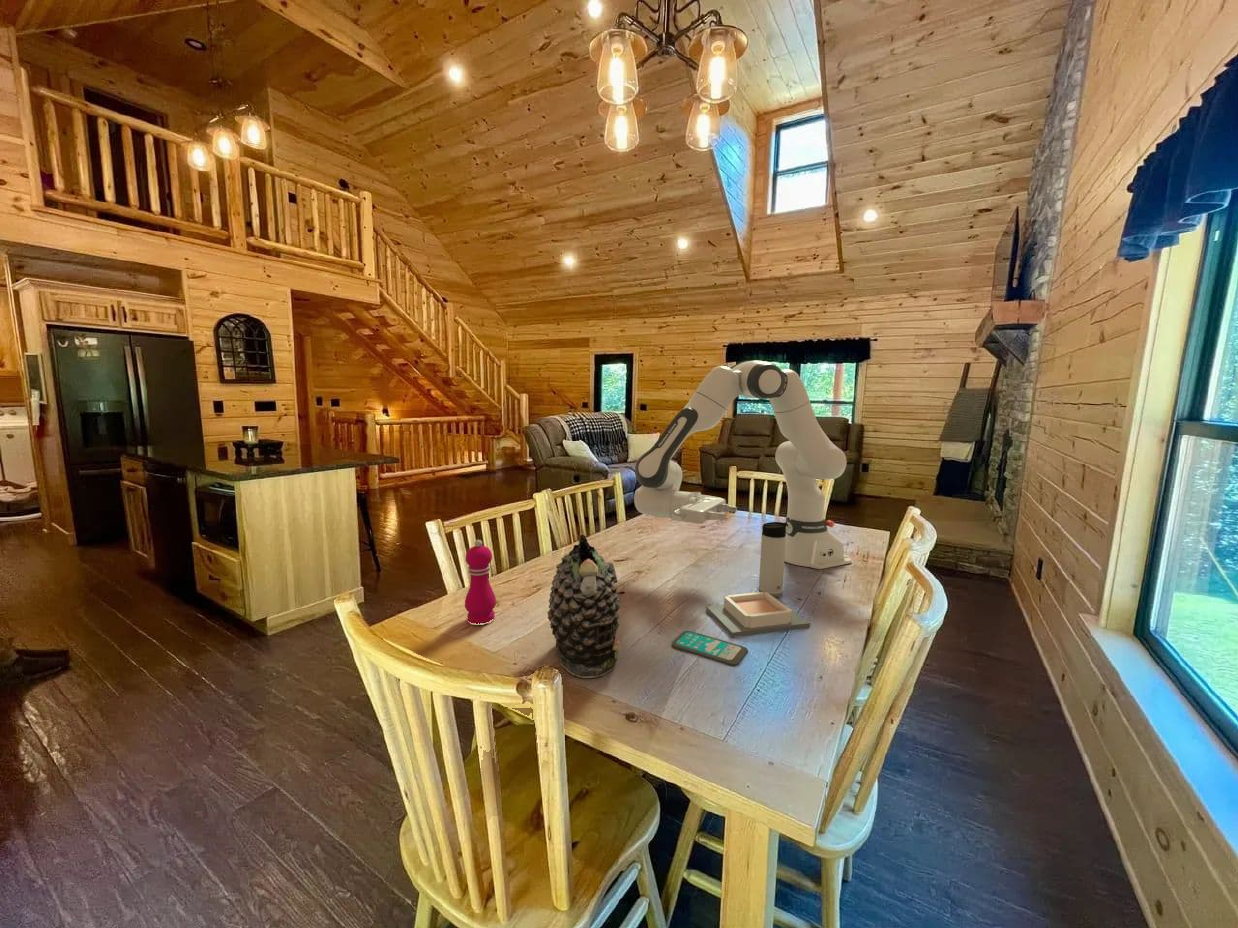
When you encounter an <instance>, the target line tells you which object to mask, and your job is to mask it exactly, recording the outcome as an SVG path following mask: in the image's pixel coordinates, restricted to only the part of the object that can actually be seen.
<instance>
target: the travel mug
mask: <svg viewBox="0 0 1238 928" xmlns="http://www.w3.org/2000/svg"><path fill="white" fill-rule="evenodd" d="M786 526H787V527H788V524H787V523H786V522H781V521H770V522H765V523H763V524H762V526H761V527H762V529H761V541H760V542H761V543H760V560H759V561H760V562H759V577H758V578H759V580H758V592H763V593H765V592H767V593H769V594H770V595H771V596H773V597H774V598H775V599H777V598H780V597H782V596H783V593H784V592H783V591H784V590H783V588H784V577H785V575H784V574H785V561H784V560H785V543H786Z"/></svg>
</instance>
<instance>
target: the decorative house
mask: <svg viewBox="0 0 1238 928" xmlns="http://www.w3.org/2000/svg"><path fill="white" fill-rule="evenodd" d="M555 567H556V571H555V574H554V576H553V579H552V581H551V585H552V586H551V587H550V593H549V599H548V602H549V605H548V608H549V609H548V611H547V619H548V621H549V622H550V625H549V626H550V628H551V631H552V633H551V634H552V635H553V636H554V639H555V649H556V653H557V656H558V660H559V663H560V665H561V666H562V667H563V669H565V670H566V671H567V672H568V673H570V674H571V675H573V676H576V677H578V678H583V679H593V678H598V677H601V676H605V675H606V674H607V673H609V672H610V671H612V670H613V669H614V668H615V666H616V663H617V661H618V651H619V650H621V649H622V644H621V643H620V641H619V640H618V638H617V637H616V636H617V634H616V633H617V631H618V628H619V626H620V623H619V621H618V620H619V618H620V614H619V612H618V610H619V609H620V607H621V600H620V597H619V595H618V593H617V588H618V585H617V584H616V583H618V576H617V573H616V569H615V566H614V563H613V562H612V561H609V562H608V561H606V560H605V558H604V557H603V556H602V555H600V554H599V553H598V550H597V549H595V547H594V546H592V545H590V544H589V542H588V540H587V537H586V536H585V535H584V534H581V535H580V537H579V539H578V544H574V545H573V547H572V549H571V550H570V551H569V552H568V553H566V554H565V555H563V557H561V562H559V563H558V564H556V566H555Z"/></svg>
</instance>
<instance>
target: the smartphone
mask: <svg viewBox="0 0 1238 928" xmlns="http://www.w3.org/2000/svg"><path fill="white" fill-rule="evenodd" d="M671 647H672V648H673V649H676V650H678V651H682V652H685V653H688V654H691V655H695V656H699V657H701V658H704V659H707V660H711V661H713V662H717V663H721V664H723V665H726V666H730V667H738V666H739V665H740V664H741V663H742V661H743V660H744V659H745V657H746V656H747V654H748V653H749V650H748V648H747V647H746V646H743V645H740V644H736V643H733V642H730V641H726V640H722V639H720V638H716V637H713V636H710V635H706V634H703V633H699V632H695V631H691V630H685V631H683V632H681V633H680V634H679V635H678V636H677V637H676V638H675V639H674V640H673V641H672V642H671Z"/></svg>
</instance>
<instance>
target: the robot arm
mask: <svg viewBox="0 0 1238 928" xmlns="http://www.w3.org/2000/svg"><path fill="white" fill-rule="evenodd" d="M739 396H744V397H747V398H749V399H759V400H768V401H769V402H770V405H771V408H772V411H773V414H774V417H775V420H776V423H777V426H778V429H779V431H780V433H781V435H783V436H784V438H785V439H787V440H788V441H784V442H782V443H781V444H779V445H778V447H777V448H776V451H775V457H774V458H775V462H776V464H777V466H779V468H780V470H781V471H782V474H783V476H784V480H785V483H786V489H787V497H788V498H787V514H786V516H785V523H787V524H788V527H787V526H786V543H785V560H784V563H785V562H786V563H789V564H791V565H795V566H799V567H800V566H802V567H808V568H811V569H812V568H813V569H816V570H823V569H829V568H834V567H837V566H842V565H847V564H852V559H851V557H850V556H848V555H847V554H845V548H844V543H843V542H842V541H841V539H839V538H838V537H837V536H835V534H833V533H832V532H830V530H828V529H829V528H834V526H835V522H834V521H833V520H831V519H828V520H827V519H825V517H824V515H825V501H826V498H825V497H826V496H825V494H824V492H823V491H822V490H821V489H820V487H819V486H818V483H817V480H836V479H838V478H840V477H841V476H842V475H843V474H844V473H845V470H846V468H847V463H848V461H847V457H846V454H845V452H844V451H843V450H842V449H841V448H839V447H838V446H837V445H835V444H834V443H833V442H832V441H831V440H830V438H829V437H828V436H827V434H826V433H825V432H824V430H823V429H822V427H821V425H820V424H819V422H818V420H817V417H816V415H815V412H814V409H813V406H812V404H811V401H810V397H809V394H808V392H807V389H806V387H805V385H804V383H803V381H802V379H801V377H800V376H799V374H798V372H796V371H795V370H792V369H781V368H780V367H779V366H778V365H776V364H774V363H772V362H769V361H763V360H758V359H756V360H754V359H753V360H743V361H739V362H738V363H735V364H734V365H732V366H731V367H728V366H726V365H725V366H724V365H718V366H715V367H713V368H712V369H711V371H709V372H708V374H706V376H705V377H704V378H703V380H702V381H701V382H700V383H699V385H698V386H697V388H696V389H695V392H693V395H692V396H691V397H690V399H689V400H688V402H687V403H686V404H685V406H684V407H683V408H682V409H681V410H680V411H679V412H678V413H677V414H676V415H675V417H673V419H672V420H671V421H670V423H669V424H668V425H667V426H666V428H665V429H664V431H663V432H662V434H661V435H660V436H659V438H658V439H657V441H656V442H655V443H654V444H653V446H651V447H650V449H649V450H647V451H646V452H645V453H643V454H642V455H641V456H640V457H639V458H638V459H637V461H636V463H635V466H634V474H635V479H636V480H637V482H638V483H639V484H640V485H641V486H640V487H638V488H637V489H636V490H635V492H634V495H633V502H634V506H635V508H636V510H637V511H638V512H639V513H640V514H643V515H645V516H649V517H652V518H658V519H659V518H660V519H663V518H667V519H670V520H672V521H675V522H676V521H677V522H683V523H691V524H696V525H697V524H698V525H700V524H704V523H706V522H707V521H719V520H720V521H726V520H727V513H729V514H736V513H737V511H738V507H737V506H734V505H730V504H728V503H727V502H726V499H725V498H722V497H718V496H714V495H713V496H712V495H709V494H708V495H707V494H702V493H701V492H700V491H681V490H680V489H681V485H682V482H683V477H684V476H683V475H684V473H683V469H682V467H681V465H680V464H678V463H677V462H676V461H673V460H672V458H673V457H674V456H675V454H676V453H677V451H678V450H679V448H680V447H681V446H682V444H683V443H684V442H685V440H686V439H688V437H689V436H691V435H693V434H695V433H698V432H701V431H708V430H711V429H713V428H715V427H716V425H718V424H719V423H720V421H721V420H722V419H723V417H724V416H725V414H726V413H727V411H728V410H729V408H730V406H731V404H732V402H734V400H735V399H736V398H737V397H739ZM828 527H829V528H828Z"/></svg>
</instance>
